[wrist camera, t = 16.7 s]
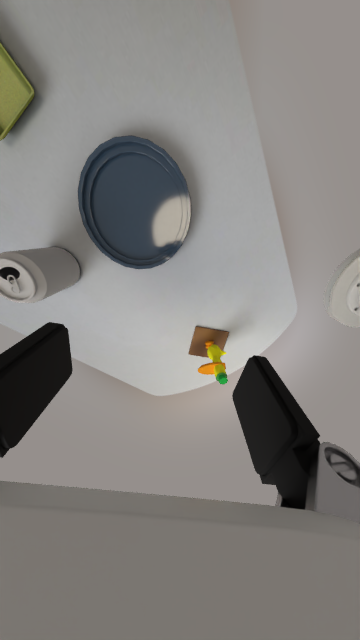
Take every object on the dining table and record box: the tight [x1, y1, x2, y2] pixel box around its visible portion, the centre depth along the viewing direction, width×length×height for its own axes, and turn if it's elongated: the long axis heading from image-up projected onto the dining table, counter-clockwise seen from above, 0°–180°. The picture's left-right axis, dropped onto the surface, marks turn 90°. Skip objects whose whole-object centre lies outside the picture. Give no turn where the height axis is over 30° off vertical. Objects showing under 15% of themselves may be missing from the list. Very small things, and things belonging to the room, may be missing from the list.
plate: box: [78, 136, 191, 269], centre depth 29 cm, size 18×18×2 cm
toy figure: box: [198, 341, 228, 384], centre depth 37 cm, size 7×4×12 cm, turn 100°
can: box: [0, 247, 80, 303], centre depth 29 cm, size 8×8×12 cm
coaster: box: [189, 326, 229, 357], centre depth 42 cm, size 8×8×1 cm
